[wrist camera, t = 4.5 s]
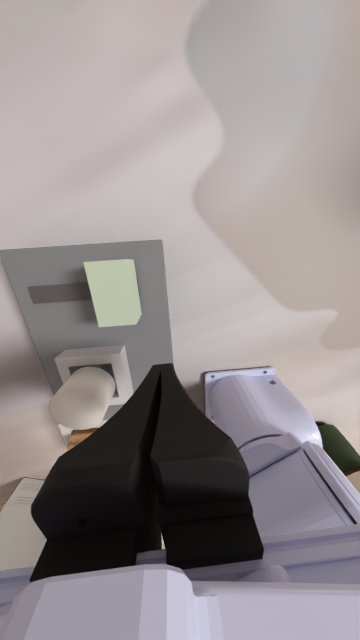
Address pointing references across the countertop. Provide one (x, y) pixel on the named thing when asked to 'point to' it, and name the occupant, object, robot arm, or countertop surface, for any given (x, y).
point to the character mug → (341, 453)
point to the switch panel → (91, 314)
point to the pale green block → (114, 292)
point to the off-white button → (83, 398)
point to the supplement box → (20, 528)
